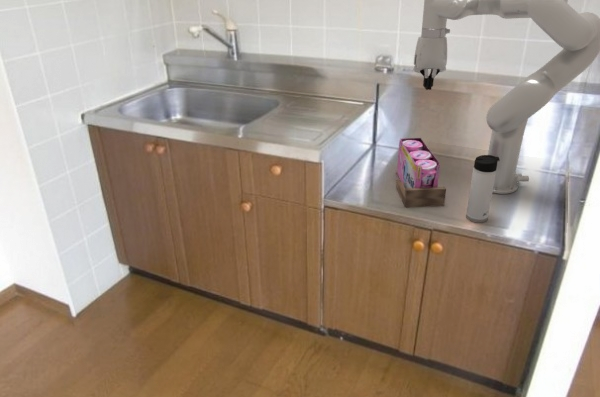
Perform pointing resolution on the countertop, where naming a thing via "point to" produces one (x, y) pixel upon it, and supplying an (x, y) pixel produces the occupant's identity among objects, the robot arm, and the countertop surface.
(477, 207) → the travel mug
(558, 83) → the robot arm
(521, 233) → the countertop surface
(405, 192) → the brown wooden open box
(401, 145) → the gum box
